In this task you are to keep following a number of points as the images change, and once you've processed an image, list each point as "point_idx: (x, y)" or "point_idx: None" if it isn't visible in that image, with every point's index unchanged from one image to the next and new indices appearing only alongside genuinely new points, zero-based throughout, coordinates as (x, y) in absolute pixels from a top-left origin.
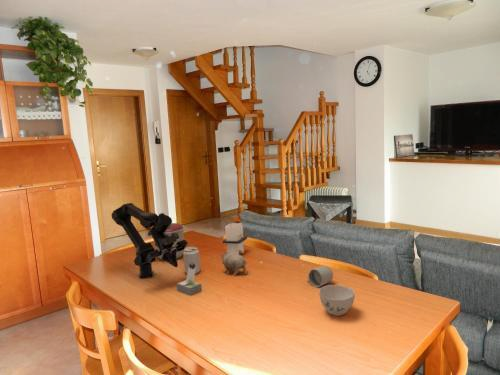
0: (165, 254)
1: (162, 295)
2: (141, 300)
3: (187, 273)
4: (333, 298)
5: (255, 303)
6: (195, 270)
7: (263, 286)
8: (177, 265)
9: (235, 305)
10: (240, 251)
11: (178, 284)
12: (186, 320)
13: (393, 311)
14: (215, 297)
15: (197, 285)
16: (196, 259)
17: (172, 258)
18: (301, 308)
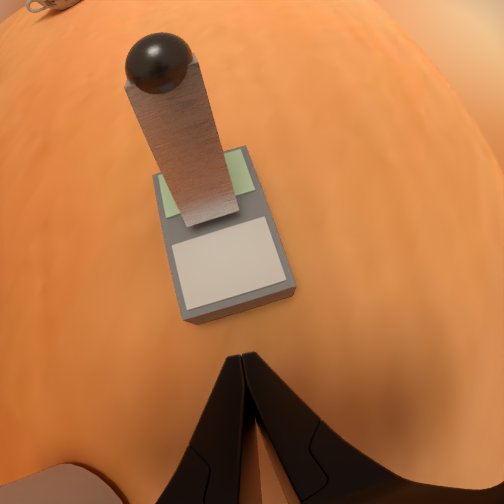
0: (491, 492)
1: (397, 280)
2: (495, 284)
3: (217, 132)
4: (48, 6)
5: (116, 36)
6: (69, 470)
7: (14, 121)
8: (231, 358)
9: None
10: None
11: (287, 265)
12: (341, 31)
13: None
14: None
15: None
16: (10, 486)
17: (288, 449)
18: (85, 12)
